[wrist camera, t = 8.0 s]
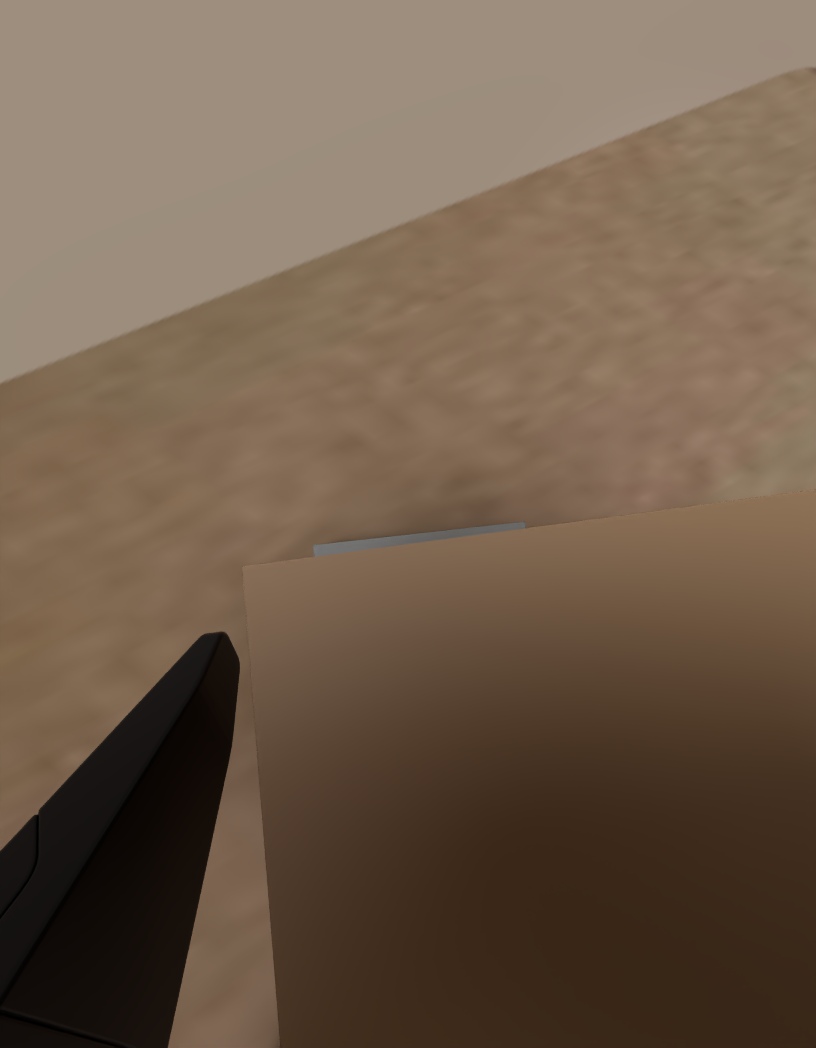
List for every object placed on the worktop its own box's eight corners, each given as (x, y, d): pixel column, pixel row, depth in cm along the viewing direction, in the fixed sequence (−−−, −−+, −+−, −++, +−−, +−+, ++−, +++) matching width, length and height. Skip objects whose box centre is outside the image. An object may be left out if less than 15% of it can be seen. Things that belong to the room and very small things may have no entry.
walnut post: (505, 699, 18) (1040, 1196, 3) (380, 718, 18) (305, 1360, 3) (484, 574, 19) (831, 487, 4) (364, 591, 18) (241, 566, 4)
